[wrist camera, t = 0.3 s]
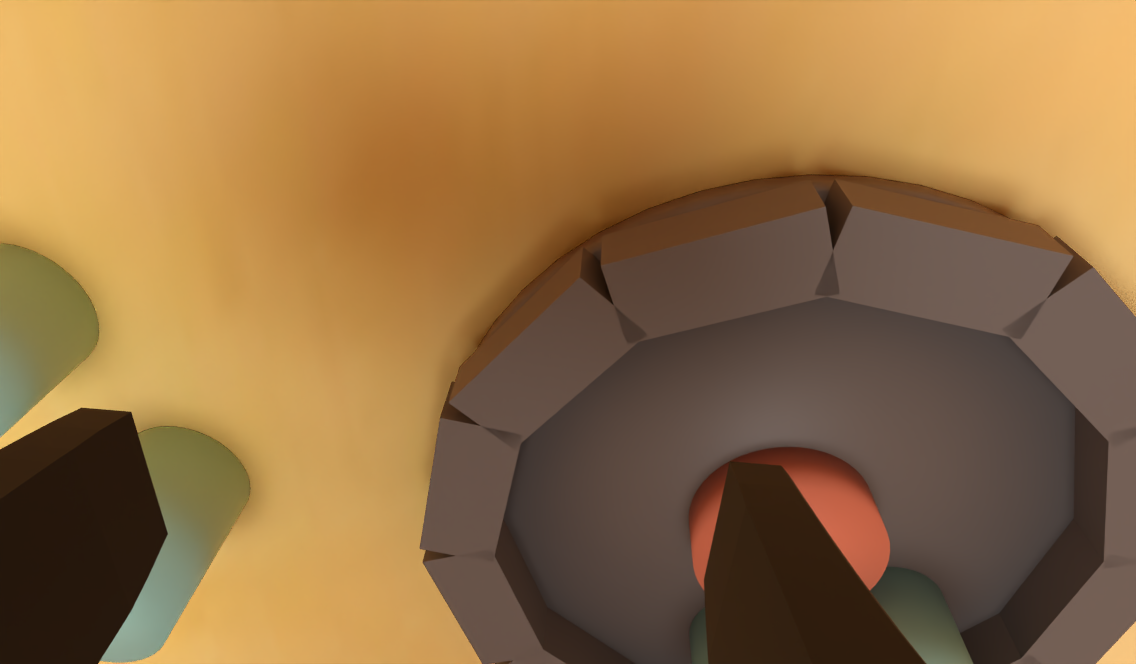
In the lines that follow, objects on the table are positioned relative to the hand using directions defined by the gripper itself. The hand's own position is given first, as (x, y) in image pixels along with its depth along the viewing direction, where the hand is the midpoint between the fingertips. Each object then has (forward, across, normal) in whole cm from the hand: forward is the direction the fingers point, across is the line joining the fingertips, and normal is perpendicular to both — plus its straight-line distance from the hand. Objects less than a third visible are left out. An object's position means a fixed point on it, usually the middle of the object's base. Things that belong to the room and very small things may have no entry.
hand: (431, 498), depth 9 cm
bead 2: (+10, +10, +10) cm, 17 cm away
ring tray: (+10, -8, +8) cm, 15 cm away
